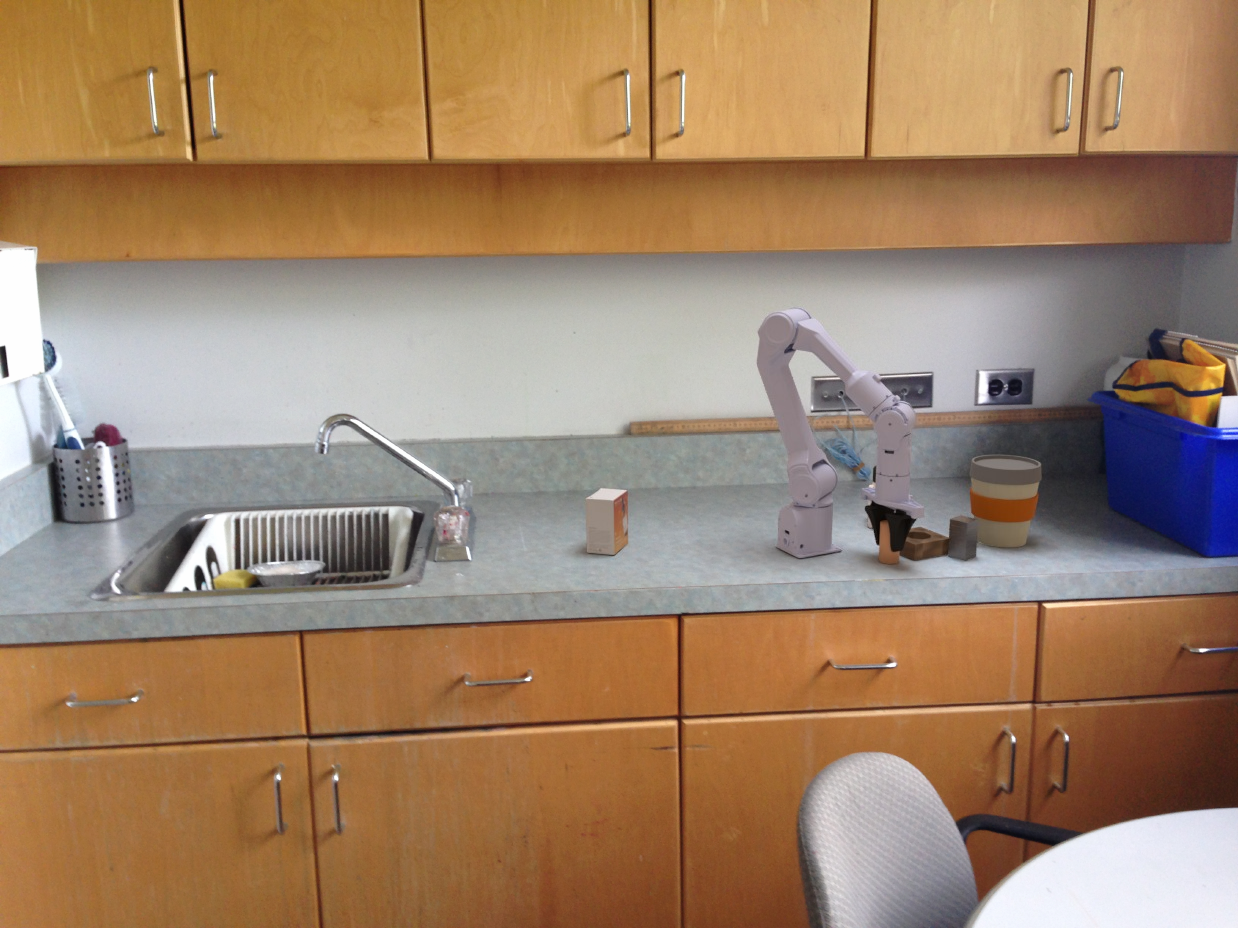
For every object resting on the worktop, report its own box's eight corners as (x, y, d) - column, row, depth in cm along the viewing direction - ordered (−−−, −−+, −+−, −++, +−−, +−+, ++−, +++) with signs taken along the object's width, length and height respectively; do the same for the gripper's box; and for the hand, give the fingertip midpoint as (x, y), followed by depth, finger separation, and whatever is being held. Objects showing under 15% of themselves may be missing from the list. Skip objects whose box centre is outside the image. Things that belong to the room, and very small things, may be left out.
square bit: (965, 561, 182) (967, 523, 181) (947, 556, 185) (949, 518, 183) (976, 556, 184) (978, 519, 183) (958, 552, 187) (961, 515, 185)
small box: (614, 556, 188) (613, 500, 186) (586, 553, 190) (584, 498, 188) (629, 543, 196) (628, 489, 193) (601, 540, 197) (600, 487, 195)
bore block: (914, 560, 183) (915, 544, 182) (885, 548, 190) (885, 532, 189) (949, 554, 186) (950, 538, 185) (919, 541, 193) (920, 526, 192)
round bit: (887, 565, 181) (889, 526, 179) (874, 559, 184) (876, 521, 182) (903, 562, 182) (905, 523, 180) (890, 556, 185) (892, 518, 183)
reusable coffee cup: (997, 554, 185) (1002, 473, 182) (950, 535, 197) (955, 458, 193) (1051, 545, 190) (1058, 465, 186) (1003, 526, 201) (1008, 451, 198)
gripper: (940, 479, 174) (935, 555, 178) (884, 461, 187) (881, 533, 190) (906, 484, 171) (902, 562, 175) (852, 466, 184) (849, 538, 187)
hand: (889, 547), depth 182 cm, fingers closed on round bit, 3 cm apart
